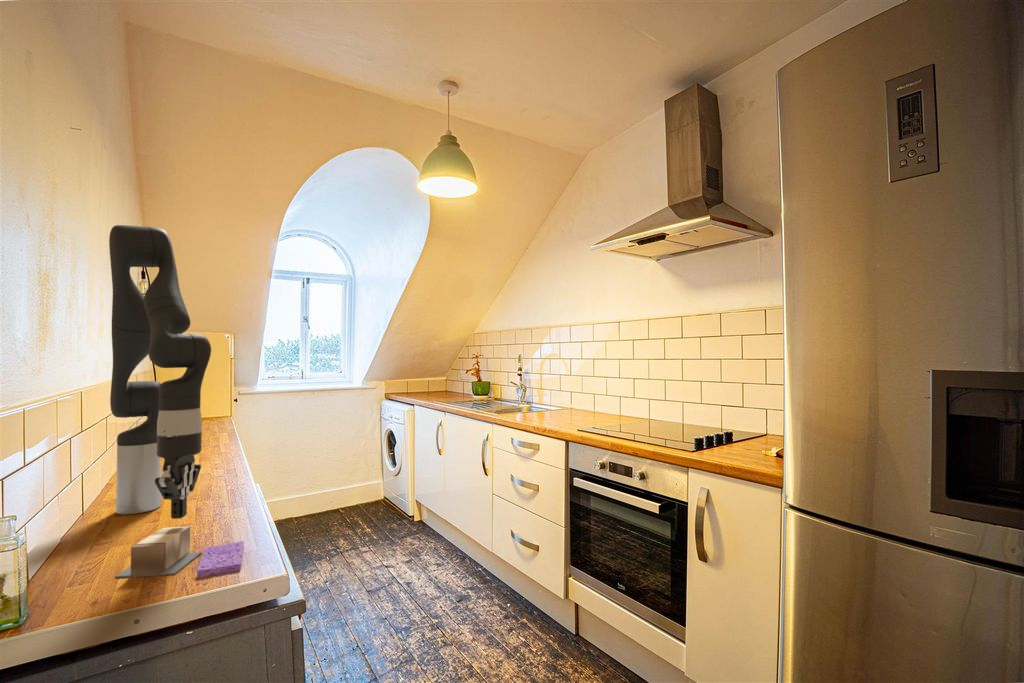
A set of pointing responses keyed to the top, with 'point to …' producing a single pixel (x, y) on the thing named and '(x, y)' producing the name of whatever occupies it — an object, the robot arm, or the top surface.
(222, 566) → the sponges
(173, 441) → the robot arm
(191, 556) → the mat
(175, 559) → the birch block
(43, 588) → the top surface
